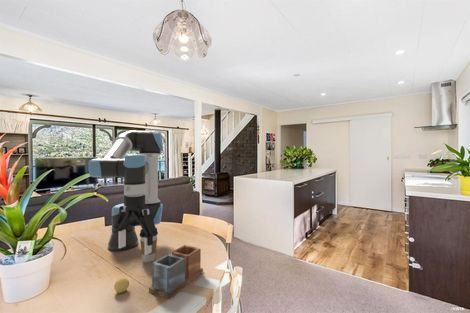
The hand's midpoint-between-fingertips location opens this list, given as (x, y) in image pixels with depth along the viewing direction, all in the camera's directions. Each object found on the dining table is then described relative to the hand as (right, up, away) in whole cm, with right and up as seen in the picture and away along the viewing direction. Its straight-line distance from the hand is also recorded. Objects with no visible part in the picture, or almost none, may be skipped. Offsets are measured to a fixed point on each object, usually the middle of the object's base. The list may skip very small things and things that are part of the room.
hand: (134, 250), depth 87 cm
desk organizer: (+15, -15, +5) cm, 22 cm away
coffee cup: (-4, -15, +23) cm, 28 cm away
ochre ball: (-4, -12, -2) cm, 13 cm away
